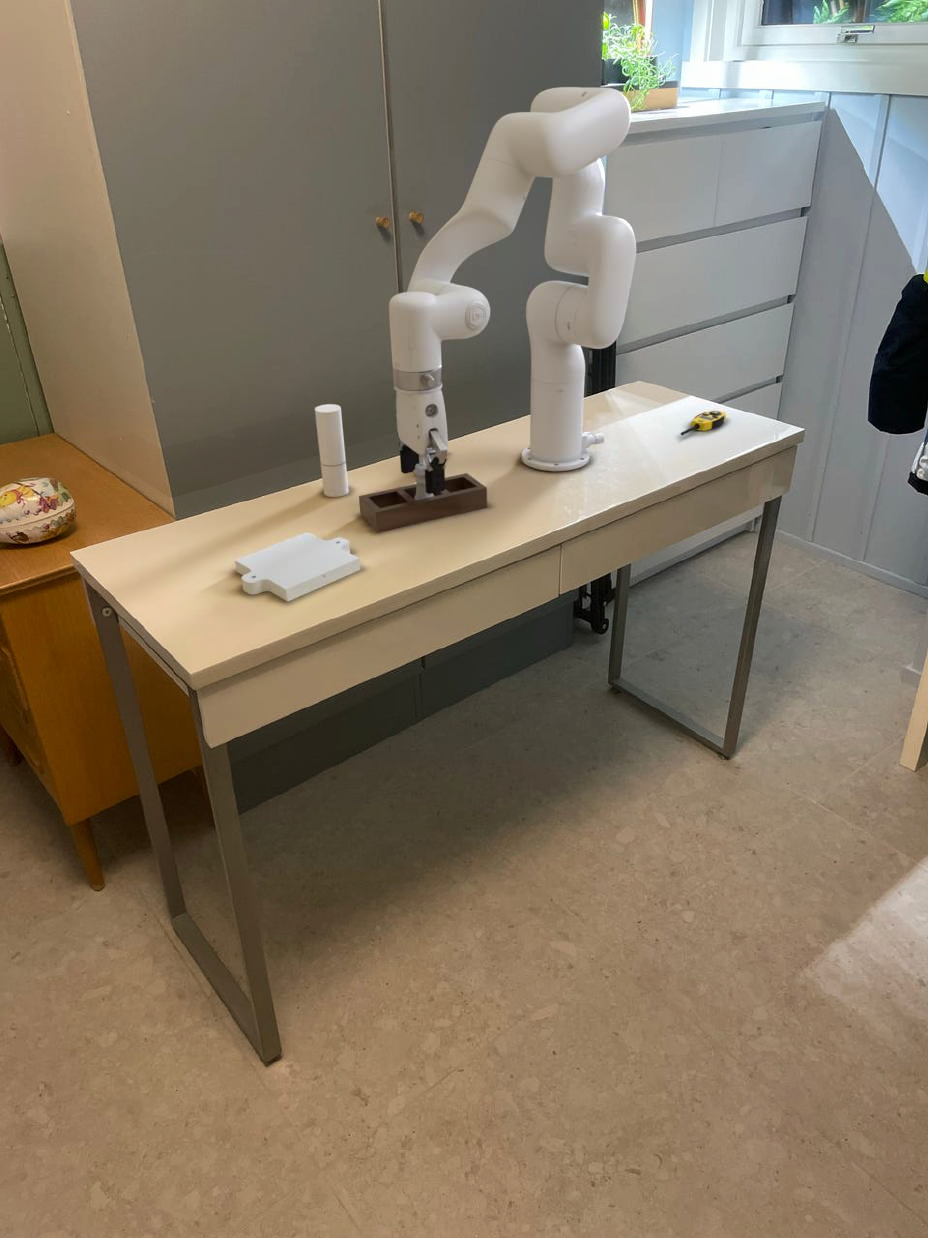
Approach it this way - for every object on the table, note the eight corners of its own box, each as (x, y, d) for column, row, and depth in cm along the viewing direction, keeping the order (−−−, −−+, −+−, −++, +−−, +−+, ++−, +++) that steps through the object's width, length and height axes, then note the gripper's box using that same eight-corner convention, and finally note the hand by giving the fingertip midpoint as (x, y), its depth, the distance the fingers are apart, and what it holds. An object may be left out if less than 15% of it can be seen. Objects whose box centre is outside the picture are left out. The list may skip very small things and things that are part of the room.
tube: (344, 497, 159) (336, 412, 152) (320, 496, 160) (311, 411, 152) (351, 487, 163) (344, 404, 155) (328, 486, 164) (319, 403, 156)
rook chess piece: (426, 503, 157) (424, 458, 152) (444, 510, 154) (442, 465, 150) (406, 511, 154) (403, 465, 150) (424, 518, 151) (422, 472, 147)
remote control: (731, 411, 187) (692, 431, 178) (730, 421, 188) (691, 440, 179) (710, 407, 190) (670, 425, 181) (709, 416, 191) (669, 435, 182)
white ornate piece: (439, 453, 176) (438, 423, 173) (448, 454, 176) (447, 424, 173) (416, 476, 167) (414, 445, 164) (425, 477, 166) (424, 446, 163)
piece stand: (360, 515, 153) (358, 495, 151) (467, 491, 160) (466, 472, 158) (377, 532, 147) (375, 512, 145) (487, 507, 155) (487, 487, 153)
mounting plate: (272, 608, 127) (270, 596, 126) (221, 577, 135) (219, 565, 134) (373, 563, 138) (372, 552, 137) (321, 537, 146) (319, 526, 145)
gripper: (464, 388, 137) (467, 495, 146) (416, 360, 150) (421, 460, 159) (418, 396, 134) (423, 505, 143) (373, 367, 147) (381, 468, 156)
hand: (422, 481), depth 151 cm, fingers open, 9 cm apart
